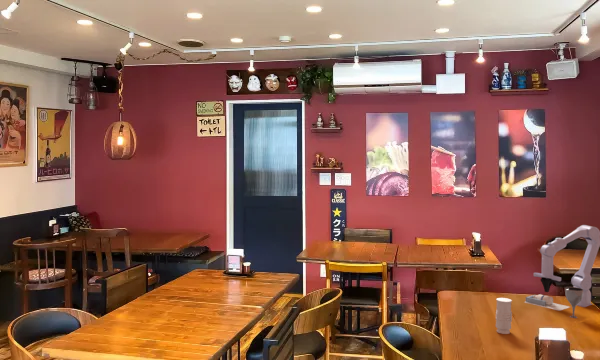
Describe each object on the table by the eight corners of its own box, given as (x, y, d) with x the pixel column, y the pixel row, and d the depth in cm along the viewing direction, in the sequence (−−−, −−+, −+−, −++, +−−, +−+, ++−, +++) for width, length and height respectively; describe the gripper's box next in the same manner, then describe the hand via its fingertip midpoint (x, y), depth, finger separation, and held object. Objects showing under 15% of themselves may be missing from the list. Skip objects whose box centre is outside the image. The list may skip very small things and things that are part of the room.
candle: (509, 335, 235) (510, 302, 235) (493, 332, 239) (494, 300, 238) (512, 331, 241) (513, 299, 240) (497, 328, 245) (497, 296, 244)
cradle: (535, 299, 295) (535, 294, 295) (570, 308, 279) (570, 302, 279) (523, 303, 288) (523, 297, 288) (559, 311, 272) (559, 306, 272)
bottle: (553, 304, 283) (536, 300, 291) (553, 296, 283) (536, 292, 291) (548, 306, 281) (531, 301, 288) (548, 297, 280) (532, 293, 288)
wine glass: (584, 321, 257) (585, 291, 256) (567, 319, 258) (568, 290, 258) (579, 316, 265) (580, 287, 264) (562, 315, 266) (563, 286, 265)
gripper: (530, 265, 286) (530, 290, 287) (556, 270, 275) (556, 295, 275) (537, 264, 291) (536, 288, 291) (563, 268, 279) (562, 293, 279)
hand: (546, 291), depth 283 cm, fingers closed
